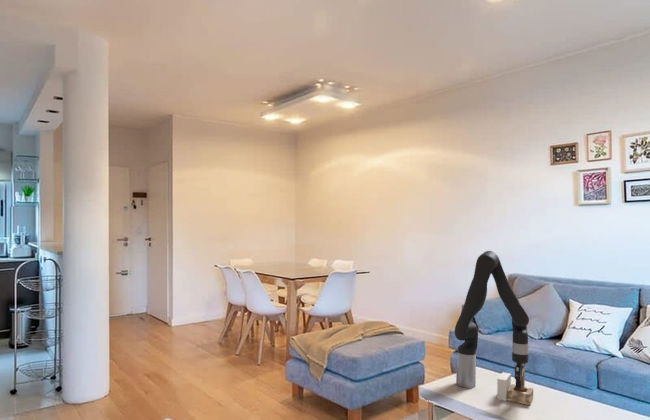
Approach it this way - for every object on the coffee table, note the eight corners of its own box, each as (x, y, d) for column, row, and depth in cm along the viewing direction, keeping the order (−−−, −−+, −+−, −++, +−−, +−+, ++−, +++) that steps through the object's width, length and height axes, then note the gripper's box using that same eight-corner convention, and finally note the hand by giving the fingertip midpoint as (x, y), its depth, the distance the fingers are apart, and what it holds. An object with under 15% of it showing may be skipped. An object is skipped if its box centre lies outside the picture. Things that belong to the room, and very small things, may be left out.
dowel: (514, 397, 218) (515, 372, 218) (516, 395, 221) (516, 370, 222) (523, 399, 216) (523, 374, 216) (525, 396, 219) (525, 372, 219)
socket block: (507, 400, 217) (507, 390, 217) (511, 394, 225) (511, 384, 225) (530, 405, 211) (530, 394, 212) (533, 398, 220) (533, 388, 220)
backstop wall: (497, 399, 219) (497, 378, 219) (502, 391, 229) (502, 372, 229) (505, 401, 216) (506, 380, 217) (510, 393, 226) (510, 373, 227)
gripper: (526, 356, 211) (525, 391, 211) (530, 349, 223) (530, 382, 223) (509, 353, 215) (509, 387, 215) (514, 347, 227) (514, 379, 227)
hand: (520, 385), depth 219 cm, fingers open, 8 cm apart
